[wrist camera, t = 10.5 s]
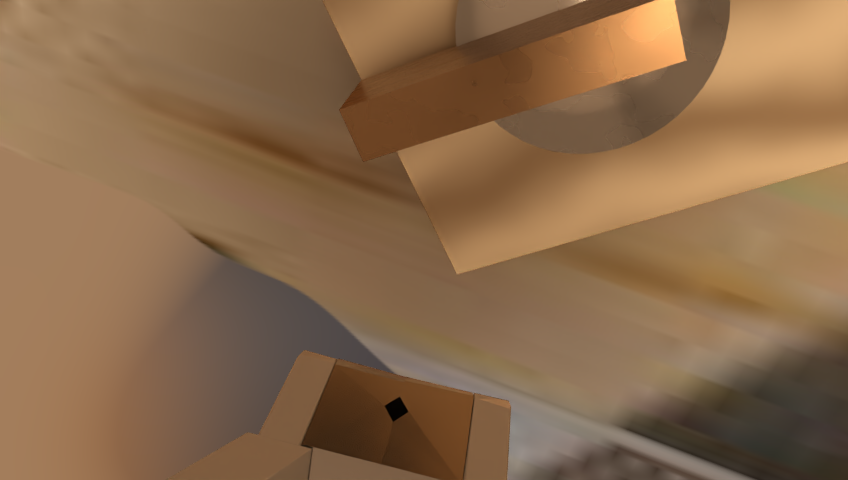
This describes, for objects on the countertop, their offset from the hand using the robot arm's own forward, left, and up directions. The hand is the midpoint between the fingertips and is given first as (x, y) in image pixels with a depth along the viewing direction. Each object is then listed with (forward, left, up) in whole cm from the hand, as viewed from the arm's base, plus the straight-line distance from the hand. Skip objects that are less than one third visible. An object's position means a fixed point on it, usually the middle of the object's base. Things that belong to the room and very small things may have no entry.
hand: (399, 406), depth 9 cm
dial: (-1, -2, -23) cm, 23 cm away
